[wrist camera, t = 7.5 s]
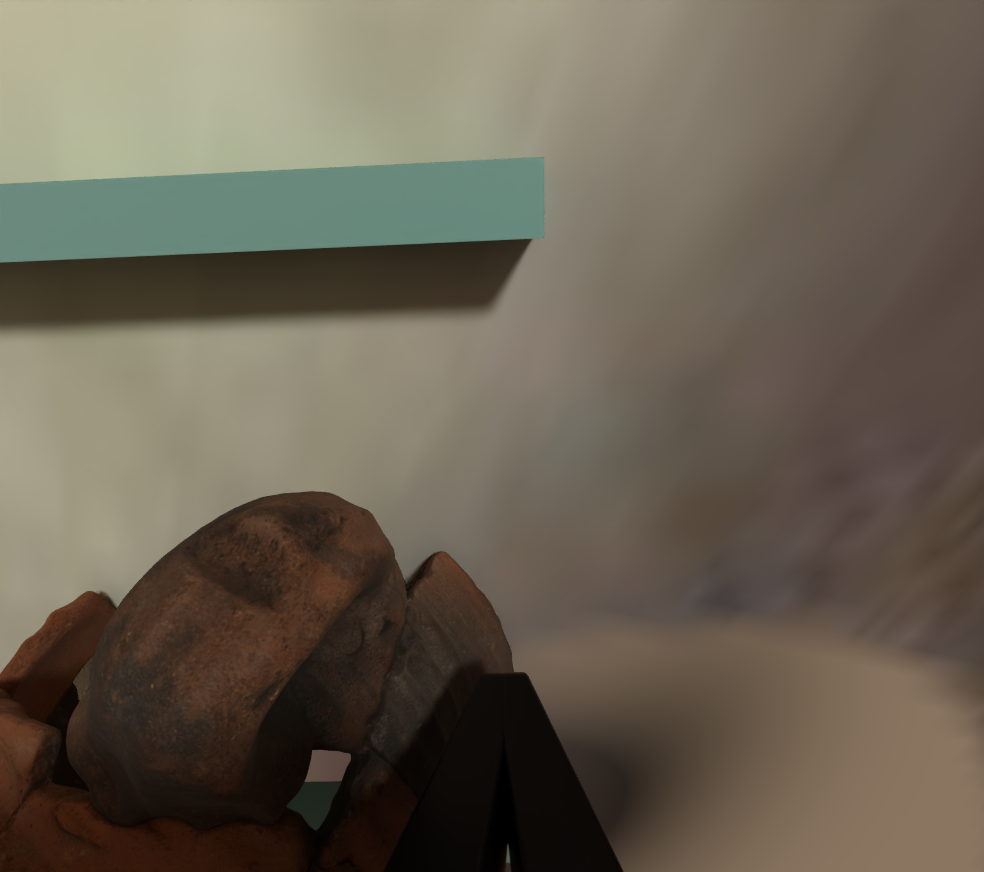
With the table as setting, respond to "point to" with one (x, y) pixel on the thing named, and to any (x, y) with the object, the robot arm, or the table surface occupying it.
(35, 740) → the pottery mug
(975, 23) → the table surface
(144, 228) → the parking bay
